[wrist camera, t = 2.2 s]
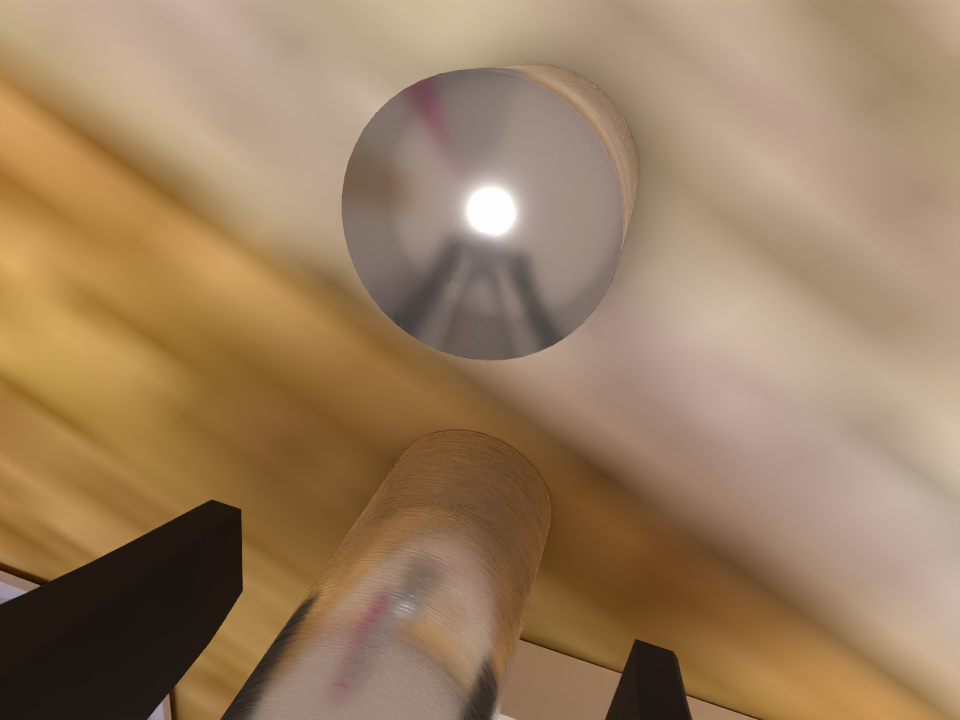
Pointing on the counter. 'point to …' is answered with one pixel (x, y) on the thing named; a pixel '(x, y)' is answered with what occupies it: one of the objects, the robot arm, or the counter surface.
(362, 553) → the long steel pin
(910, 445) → the counter surface
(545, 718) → the hole board
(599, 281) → the short steel pin
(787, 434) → the counter surface
